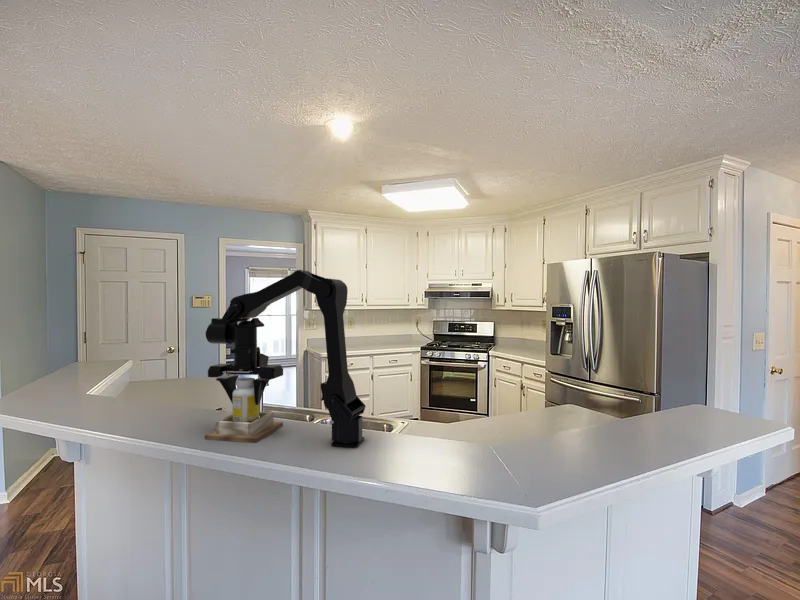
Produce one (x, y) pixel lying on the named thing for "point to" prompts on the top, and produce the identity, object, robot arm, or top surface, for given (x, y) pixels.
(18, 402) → the top surface
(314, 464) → the top surface
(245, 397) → the pill bottle
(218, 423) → the pocket tray
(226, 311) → the robot arm
